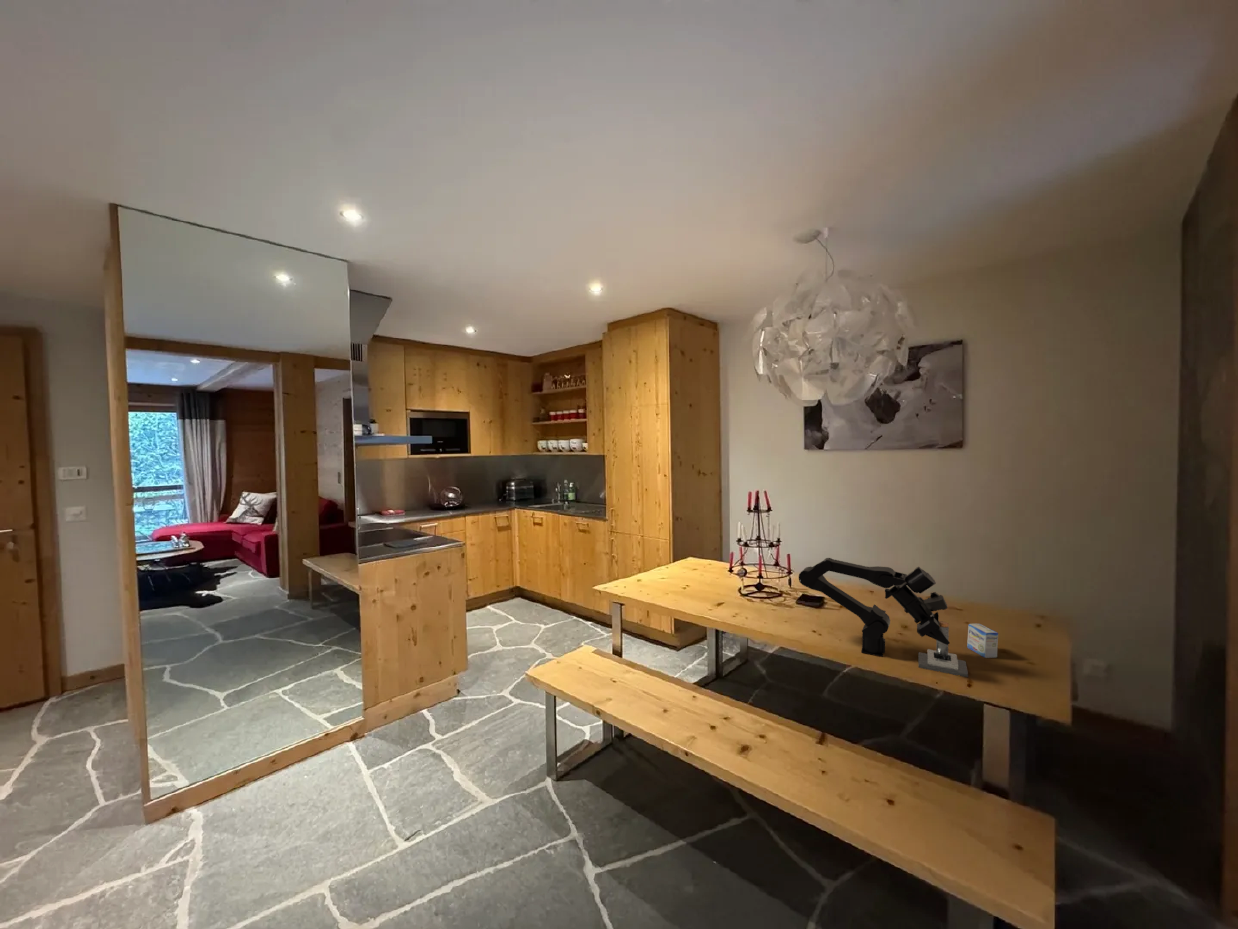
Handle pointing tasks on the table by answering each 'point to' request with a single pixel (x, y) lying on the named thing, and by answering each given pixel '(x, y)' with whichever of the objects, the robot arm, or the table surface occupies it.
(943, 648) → the steel pin
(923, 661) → the plate
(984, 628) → the medicine box
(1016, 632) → the table surface
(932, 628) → the robot arm
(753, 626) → the table surface
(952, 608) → the table surface
